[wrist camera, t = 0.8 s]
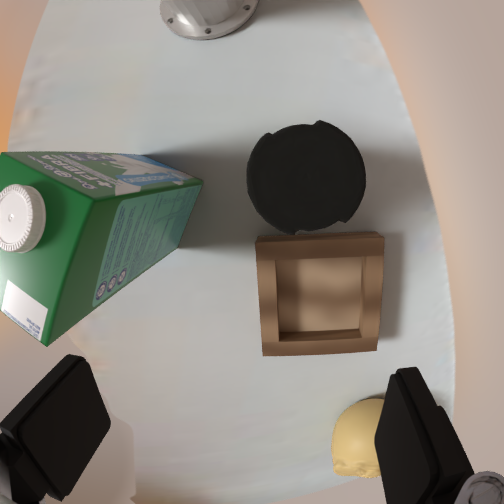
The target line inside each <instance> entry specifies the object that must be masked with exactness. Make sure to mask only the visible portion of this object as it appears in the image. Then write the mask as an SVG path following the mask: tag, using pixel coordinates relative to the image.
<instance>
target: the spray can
mask: <svg viewBox="0 0 504 504" xmlns="http://www.w3.org/2000/svg"><path fill="white" fill-rule="evenodd" d="M365 187H366V173H365V166H364V162H363V159H362V156H361V154H360V152H359V150H358V149H357V147H356V145H355V144H354V142H353V141H352V140H351V138H350V137H349V136H348V135H347V134H345V133H344V132H343V131H341V130H340V129H339V128H337V127H335V126H334V125H332V124H329V123H327V122H324V121H321V120H319V121H316V123H315V124H313V125H308V124H300V125H292V126H289V127H286V128H283V129H281V130H279V131H277V132H276V133H274V134H271V133H266V134H265V135H264V136H263V137H261V138H260V140H259V141H258V142H257V144H256V146H255V147H254V149H253V151H252V153H251V156H250V158H249V161H248V165H247V189H248V194H249V196H250V199H251V201H252V203H253V205H254V207H255V209H256V211H257V212H258V213H259V214H260V215H261V216H262V217H263V219H264V220H265V221H266V222H268V223H269V224H271V225H272V226H273V227H275V228H276V229H278V230H279V231H281V232H284V233H287V234H291V235H295V233H296V232H297V231H299V230H304V231H314V230H318V229H322V228H326V227H328V226H330V225H332V224H334V223H336V222H338V221H342V222H344V223H346V222H347V221H348V220H349V219H350V218H351V217H352V216H353V214H354V213H355V212H356V210H357V209H358V207H359V205H360V203H361V200H362V198H363V196H364V192H365Z"/></svg>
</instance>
